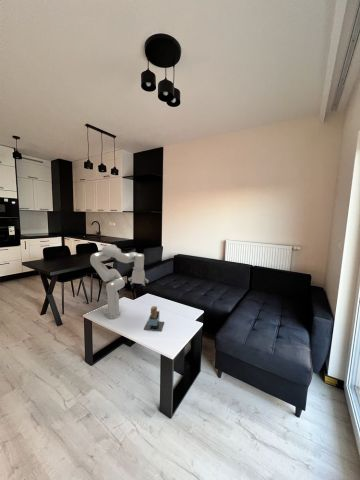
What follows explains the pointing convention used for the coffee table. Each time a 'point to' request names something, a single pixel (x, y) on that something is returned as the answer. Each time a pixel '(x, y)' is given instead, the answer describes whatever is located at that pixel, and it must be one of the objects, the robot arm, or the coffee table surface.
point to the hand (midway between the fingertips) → (137, 289)
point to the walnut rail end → (153, 312)
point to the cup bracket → (154, 324)
